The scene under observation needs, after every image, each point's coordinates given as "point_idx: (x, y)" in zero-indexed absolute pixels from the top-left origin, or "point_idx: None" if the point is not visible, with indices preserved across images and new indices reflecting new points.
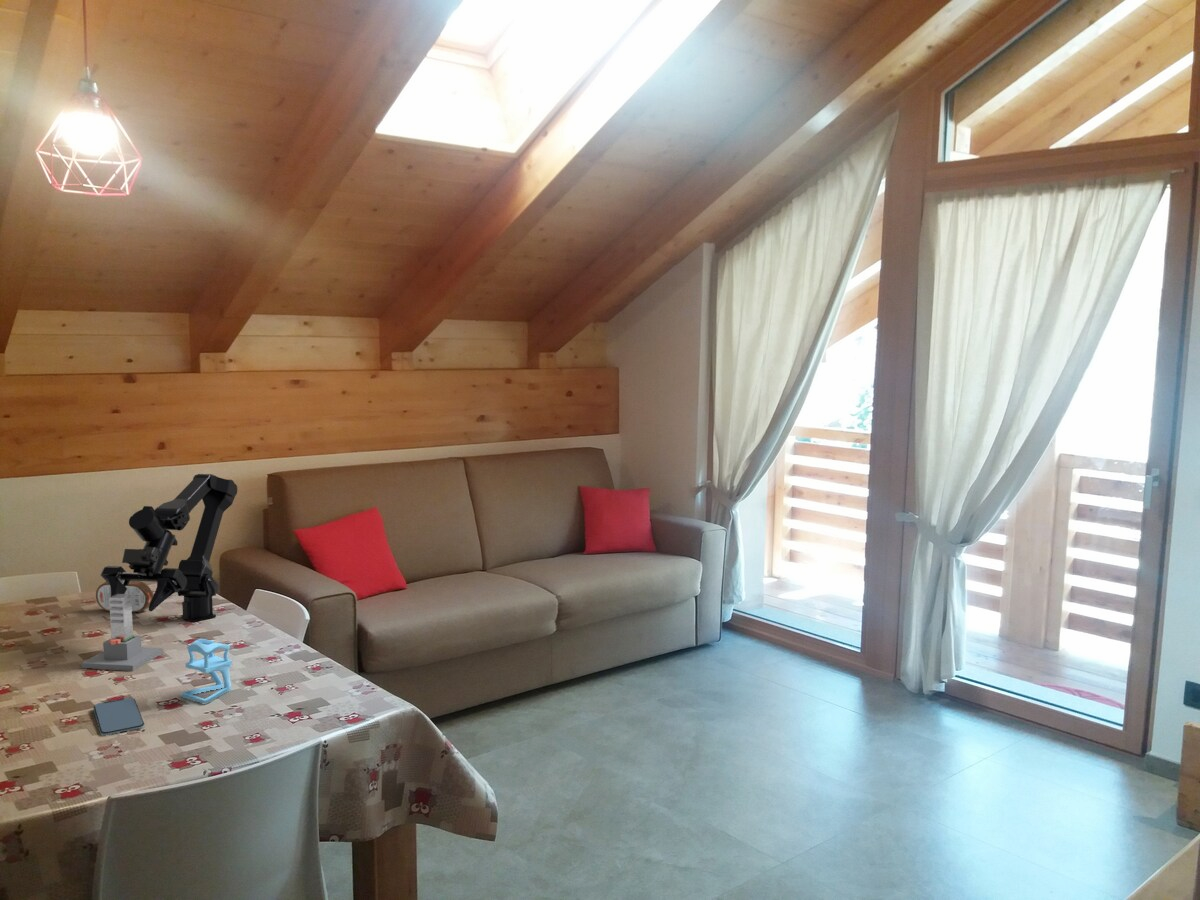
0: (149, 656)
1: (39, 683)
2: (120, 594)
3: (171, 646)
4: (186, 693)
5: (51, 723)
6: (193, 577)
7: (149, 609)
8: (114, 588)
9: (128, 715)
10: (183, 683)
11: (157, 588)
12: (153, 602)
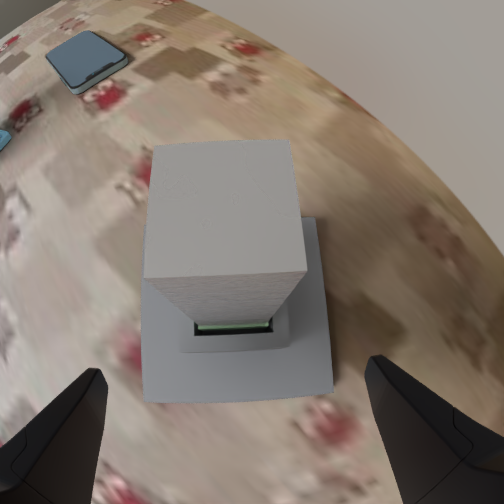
0: (141, 318)
1: (327, 127)
2: (258, 251)
3: (162, 461)
4: (1, 133)
5: (170, 29)
6: None
7: (93, 368)
8: (465, 442)
9: (66, 57)
10: (15, 188)
11: (12, 473)
12: (59, 394)
